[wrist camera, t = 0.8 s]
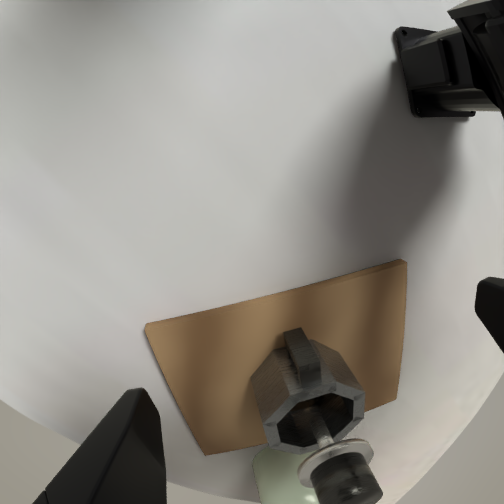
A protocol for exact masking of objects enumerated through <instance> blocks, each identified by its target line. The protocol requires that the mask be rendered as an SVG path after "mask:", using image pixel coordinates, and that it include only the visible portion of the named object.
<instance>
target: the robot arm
mask: <svg viewBox="0 0 504 504" xmlns="http://www.w3.org/2000/svg"><path fill="white" fill-rule="evenodd" d="M447 12H448V14H449V15H450V17H451V18H452V19H454V20H455V22H456V24H457V25H458V26H456V27H452V28H449V29H446V30H442V31H439V32H436V31H430V30H424V29H417V28H410V27H399V28H397V29H396V31H395V34H396V38H397V42H398V46H399V50H400V55H401V59H402V64H403V69H404V74H405V79H406V84H407V89H408V94H409V100H410V106H411V111H412V114H413V115H414V116H415V117H418V118H420V117H473V116H475V113H476V111H500V112H501V114H502V116H503V119H504V0H467V1H465V2H463V3H461V4H459V5H457V6H456V7H454V8H452V9H450V10H448V11H447ZM401 31H402V32H403V33H404V36H403V35H402V33H401ZM417 108H419V110H420V112H419V113H418V110H417ZM475 312H476V314H477V316H478V317H479V319H480V320H481V321H482V323H483V324H484V326H485V327H486V328H487V330H488V331H489V333H490V334H491V336H492V337H493V339H494V340H495V342H496V343H497V345H498V346H499V347H500V349H501V350H502V352H503V353H504V279H502V278H495V277H487V278H485V279H483V280H481V281H480V282H479V283H478V285H477V292H476V300H475ZM45 490H46V491H43V492H42V493H41V494H40V495H39V496H38V498H37V499H36V500H35V501H34V502H33V504H167V499H166V498H167V496H166V467H165V459H164V450H163V442H162V432H161V422H160V415H159V412H158V410H157V408H156V407H155V405H154V403H153V402H152V400H151V398H150V396H149V395H148V393H147V391H146V390H145V389H144V388H135V389H129V390H127V391H126V392H125V393H124V394H123V395H122V396H121V398H120V399H119V400H118V401H117V402H116V404H115V405H114V406H113V407H112V408H111V410H110V411H109V412H108V413H107V414H106V416H105V417H104V418H103V419H102V420H101V422H100V423H99V424H98V425H97V426H96V428H95V429H94V430H93V431H92V432H91V434H90V435H89V436H88V437H87V438H86V440H85V441H84V442H83V443H82V444H81V446H80V447H79V448H78V449H77V451H76V452H75V453H74V454H73V456H72V457H71V458H70V459H69V460H68V461H67V463H66V464H65V465H64V466H63V467H62V469H61V470H60V471H59V472H58V473H57V475H56V476H55V477H54V478H53V480H52V481H51V482H50V483H49V484H48V486H47V487H46V488H45Z"/></svg>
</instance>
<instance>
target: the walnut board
mask: <svg viewBox="0 0 504 504" xmlns="http://www.w3.org/2000/svg"><path fill="white" fill-rule="evenodd" d="M406 288H407V262H405V261H404V260H402V259H398V260H395V261H392V262H388V263H385V264H382V265H378V266H375V267H371V268H368V269H364V270H361V271H357V272H354V273H350V274H347V275H343V276H340V277H336V278H333V279H329V280H325V281H322V282H318V283H314V284H310V285H307V286H303V287H299V288H295V289H291V290H288V291H284V292H280V293H276V294H272V295H268V296H264V297H260V298H256V299H252V300H248V301H244V302H240V303H236V304H232V305H227V306H223V307H219V308H215V309H210V310H206V311H202V312H197V313H193V314H188V315H184V316H179V317H175V318H170V319H166V320H161V321H156V322H152V323H147V324H146V326H145V332H146V335H147V337H148V340H149V342H150V345H151V347H152V349H153V352H154V354H155V356H156V358H157V361H158V363H159V365H160V368H161V370H162V372H163V374H164V376H165V378H166V381H167V383H168V385H169V387H170V389H171V391H172V393H173V395H174V398H175V400H176V402H177V404H178V406H179V408H180V410H181V412H182V414H183V416H184V418H185V420H186V421H187V423H188V425H189V427H190V429H191V431H192V433H193V435H194V437H195V439H196V440H197V442H198V444H199V446H200V448H201V449H202V451H203V453H204V455H205V456H206V455H212V454H218V453H223V452H228V451H233V450H238V449H243V448H248V447H252V446H256V445H261V444H265V443H268V442H267V438H266V435H265V431H264V428H263V424H262V421H261V417H260V413H259V409H258V406H257V402H256V398H255V394H254V390H253V386H252V382H251V378H250V377H251V376H252V374H253V373H254V372H255V371H256V370H257V368H258V367H259V366H260V365H261V364H262V362H263V361H264V360H265V359H266V357H267V356H268V355H269V354H270V353H271V351H272V350H273V349H277V348H281V347H285V341H284V336H283V332H285V331H289V330H293V329H296V328H300V327H301V328H302V330H303V331H304V333H305V335H306V337H307V338H308V340H309V339H313V340H315V341H317V342H319V343H321V344H323V345H325V346H327V347H329V348H331V349H334V350H336V351H338V352H339V353H340V355H341V356H342V358H343V359H344V361H345V362H346V364H347V365H348V367H349V368H350V370H351V371H352V373H353V374H354V376H355V377H356V379H357V380H358V382H359V383H360V385H361V386H362V388H363V390H364V391H365V407H364V412H366V411H369V410H371V409H374V408H376V407H379V406H381V405H384V404H386V403H388V402H391V401H393V400H395V399H396V398H397V391H398V384H399V376H400V368H401V359H402V350H403V339H404V326H405V311H406Z"/></svg>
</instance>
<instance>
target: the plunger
mask: <svg viewBox="0 0 504 504" xmlns="http://www.w3.org/2000/svg"><path fill="white" fill-rule="evenodd" d="M309 423H310V426H311V428H312V431H313V433H314V435H315V438H316V440H317V443H318V445H319V447H320V449H319V450H317V451H315V452H314V453H312V454H311V455H309V456H308V457H307V458H306V459H305V460H304V461H303V462H302V463H301V464H300V465H299V467H298V469H297V475H298V478H299V481H300V483H301V485H303V486H305V487H307V488H314V490H315V493H316V496H317V499H318V501H319V504H375V503H377V502H378V501H379V500H380V499H381V497H382V496H383V492H382V490H381V488H380V486H379V484H378V482H377V481H376V479H375V477H374V475H373V473H372V471H371V469H370V467H369V465H368V464H369V463H370V462H371V460H372V458H373V450H372V448H371V446H370V444H369V443H368V442H367V441H365V440H363V439H346V440H342V441H338V442H335V443H334V441H333V439H332V437H331V435H330V433H329V430H328V428H327V426H326V424H325V422H324V420H323V418H322V417H321V416H315V417H313V418H312V419H311V420H310V421H309Z"/></svg>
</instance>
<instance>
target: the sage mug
mask: <svg viewBox="0 0 504 504" xmlns="http://www.w3.org/2000/svg"><path fill="white" fill-rule="evenodd" d="M318 450H319V449H318ZM315 451H317V450H315ZM315 451H312V452H308V453H305V454H302V455H299V454H294V453H289V452H284V451H280V450H275V449H271V448H269V446H268V447H267V448H265V449H263V450H262V451H261V452H259V453H258V454H257V455H256V456H255V458H254V460H253V462H252V466H253V471H254V475H255V480H256V484H257V488H258V493H259V497H260V501H261V504H319V501H318V499H317V496H316V493H315V490H314V488H307V487H305V486H303V485H301V483H300V481H299V478H298V475H297V469H298V467H299V465H300V464H301V463H302V462H303V461H304V460H305V459H306V458H307V457H308V456H309V455H311V454H312V453H314V452H315Z"/></svg>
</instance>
